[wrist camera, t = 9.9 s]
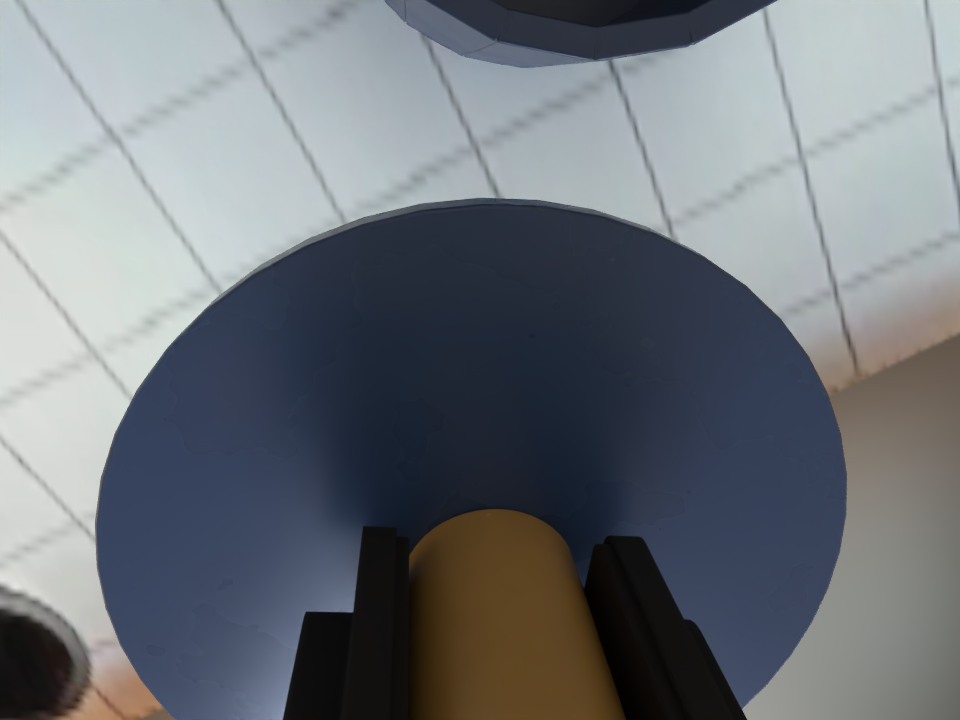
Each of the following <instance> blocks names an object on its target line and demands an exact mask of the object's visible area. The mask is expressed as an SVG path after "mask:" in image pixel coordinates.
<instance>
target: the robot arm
mask: <svg viewBox="0 0 960 720" xmlns="http://www.w3.org/2000/svg"><path fill="white" fill-rule="evenodd" d="M396 533H397V527H375V526H363V530H362V538H361V547H360V556H359V565H358V574H357V583H356V591H355V600H354V609H353V612H312V611H306V613H305V615H304V619H303V623H302V628H301V632H300V637H299V642H298V647H297V652H296V657H295V662H294V667H293V672H292V676H291V681H290V686H289V691H288V696H287V701H286V706H285V711H284V715H283V720H408V645H409V537H396ZM584 591H585V594H586V597H587V600H588V603H589V606H590V609H591V612H592V615H593V618H594V621H595V624H596V627H597V630H598V633H599V636H600V639H601V642H602V645H603V648H604V651H605V654H606V657H607V660H608V663H609V666H610V669H611V672H612V675H613V678H614V681H615V684H616V687H617V690H618V693H619V696H620V699H621V702H622V705H623V708H624V711H625V714H626V717H627V720H747V719H746V717H745V715H744V713H743V711H742V709H741V707H740V705H739V703H738V701H737V699H736V697H735V695H734V694H733V692H732V690H731V688H730V686H729V684H728V682H727V680H726V678H725V676H724V674H723V672H722V670H721V669H720V667H719V665H718V663H717V661H716V659H715V657H714V655H713V653H712V651H711V649H710V647H709V645H708V644H707V642H706V640H705V638H704V636H703V634H702V632H701V630H700V629H699V627H698V626H697V625H696V623H694V622H693V621H692V620H688V619H684V618H683V616H682V614H681V612H680V610H679V608H678V606H677V604H676V602H675V600H674V598H673V596H672V594H671V592H670V590H669V588H668V586H667V584H666V582H665V580H664V578H663V576H662V574H661V572H660V570H659V568H658V566H657V564H656V562H655V560H654V558H653V556H652V554H651V552H650V550H649V548H648V546H647V544H646V542H645V541H644V539H643V538H642V537H639V536H613V535H609V536H607V537H606V538H605V540H604V543H603V544H595V546H594V548H593V551H592V556H591V560H590V565H589V569H588V574H587V578H586V583H585V587H584Z"/></svg>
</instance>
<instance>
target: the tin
mask: <svg viewBox="0 0 960 720" xmlns="http://www.w3.org/2000/svg"><path fill="white" fill-rule="evenodd" d="M384 1H385V2H386V4H387V5H389V6H390V7H391V8H392V9H393V10H394V11H395V12H396V13H397V15H398V16H399V17H400V18H401V19H402V20H403V21H404V22H407V24H408V25H409V26H411V27H412V28H414V29H416V30H418V31H419V32H421V33H422V34H424V35H425V36H427V37H428V38H430V39H431V40H433V41H435V42H437V43H439V44H441V45H443V46H445V47H447V48H449V49H451V50H452V51H454V52H456V53H458V54H459V55H461V56H463V55H464V57H467V58H472V59H477V60H482V61H487V62H492V63H497V64H502V65H509V66H515V67H520V68H531V67H542V66H553V65H564V64H574V63H585V62H596V61H603V60H609V59H615V58H621V57H627V56H634V55H640V54H646V53H652V52H659V51H665V50H671V49H677V48H683V47H688V46H690V45H694V44H696V43H698V42H700V41H702V40H704V39H705V38H707V37H709V36H711V35H713V34H715V33H717V32H719V31H721V30H722V29H724V28H726V27H728V26H730V25H732V24H734V23H736V22H738V21H740V20H741V19H743V18H745V17H747V16H749V15H751V14H753V13H755V12H757V11H758V10H760V9H762V8H764V7H766V6H768V5H770V4H772V3H774V2H775V1H777V0H384Z"/></svg>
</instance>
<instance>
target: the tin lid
mask: <svg viewBox="0 0 960 720" xmlns="http://www.w3.org/2000/svg"><path fill="white" fill-rule="evenodd" d="M846 490H847V472H846V466H845V459H844V452H843V445H842V438H841V433H840V430H839V427H838V424H837V421H836V418H835V414H834V411H833V408H832V405H831V402H830V399H829V396H828V393H827V391H826V389H825V387H824V385H823V383H822V381H821V379H820V377H819V376H818V374H817V372H816V370H815V368H814V366H813V364H812V362H811V360H810V358H809V356H808V355H807V353H806V352H805V351H804V349H803V348H802V347H801V345H800V344H799V343H798V341H797V340H796V339H795V337H794V336H793V335H792V333H791V332H790V331H789V329H788V328H787V327H786V325H785V324H784V323H783V321H782V320H781V319H780V318H779V317H778V316H777V315H776V314H775V313H774V312H773V311H772V310H771V309H770V308H769V307H768V306H767V305H766V304H765V303H764V302H763V301H762V300H760V299H759V298H758V297H757V296H756V295H755V294H754V293H753V292H752V291H751V290H750V289H749V288H748V287H747V286H746V285H744V284H743V283H741V282H740V281H739V280H737V279H736V278H734V277H733V276H731V275H730V274H729V273H727V272H726V271H724V270H723V269H721V268H720V267H718V266H717V265H716V264H714V263H713V262H711V261H710V260H708V259H707V258H705V257H704V256H702V255H701V254H699V253H697V252H696V251H694V250H692V249H691V248H689V247H687V246H685V245H682V244H680V243H678V242H676V241H674V240H672V239H670V238H668V237H666V236H664V235H662V234H660V233H658V232H656V231H654V230H652V229H650V228H648V227H646V226H643V225H640V224H637V223H634V222H631V221H627V220H624V219H621V218H618V217H615V216H612V215H609V214H606V213H603V212H600V211H596V210H593V209H587V208H581V207H576V206H570V205H564V204H558V203H553V202H547V201H541V200H524V199H497V198H475V199H464V200H454V201H444V202H434V203H423V204H418V205H414V206H410V207H405V208H401V209H397V210H393V211H388V212H384V213H380V214H376V215H371V216H367V217H364V218H361V219H358V220H356V221H353V222H350V223H348V224H345V225H343V226H340V227H337V228H335V229H332V230H329V231H327V232H324V233H322V234H319V235H316V236H314V237H311V238H309V239H307V240H305V241H303V242H302V243H300V244H298V245H296V246H294V247H292V248H291V249H289V250H287V251H285V252H283V253H282V254H280V255H278V256H276V257H274V258H272V259H271V260H269V261H267V262H265V263H263V264H261V265H260V266H258V267H257V268H256V269H254V270H253V271H252V272H250V273H249V274H248V275H246V276H245V277H244V278H242V279H241V280H240V281H238V282H237V283H236V284H234V285H233V286H232V287H230V288H229V289H228V290H226V291H225V292H224V293H222V294H221V295H220V296H218V297H217V298H216V299H215V300H214V301H213V302H212V303H211V304H210V305H209V306H208V307H207V308H206V309H205V310H204V311H203V312H202V313H201V314H200V315H199V316H198V317H197V318H196V319H195V320H194V321H193V322H192V323H191V324H190V325H189V326H188V327H187V328H186V329H185V330H184V331H183V332H182V333H181V334H180V335H179V336H178V337H177V338H176V339H175V340H174V341H173V342H172V343H171V345H170V346H169V347H168V348H167V349H166V351H165V352H164V353H163V355H162V356H161V357H160V359H159V360H158V362H157V363H156V364H155V366H154V367H153V368H152V370H151V371H150V373H149V374H148V375H147V377H146V378H145V379H144V381H143V382H142V384H141V385H140V386H139V388H138V389H137V391H136V393H135V395H134V397H133V399H132V401H131V403H130V405H129V407H128V408H127V410H126V412H125V414H124V416H123V418H122V420H121V422H120V424H119V426H118V428H117V430H116V432H115V434H114V438H113V441H112V444H111V447H110V450H109V454H108V457H107V460H106V463H105V467H104V470H103V473H102V476H101V481H100V488H99V496H98V504H97V511H96V519H95V536H96V560H97V570H98V575H99V580H100V584H101V589H102V594H103V598H104V603H105V608H106V610H107V613H108V615H109V618H110V620H111V623H112V625H113V628H114V630H115V633H116V635H117V638H118V640H119V643H120V645H121V647H122V649H123V650H124V652H125V654H126V656H127V657H128V659H129V661H130V662H131V664H132V666H133V667H134V669H135V671H136V672H137V674H138V676H139V678H140V679H141V681H142V682H143V683H144V684H145V685H146V687H147V688H148V689H149V690H150V692H151V693H152V694H153V695H154V697H155V698H156V699H157V700H158V702H159V703H160V704H161V705H162V707H163V708H164V709H165V710H166V711H167V712H168V713H169V714H170V715H171V716H172V717H173V718H174V719H175V720H283V715H284V711H285V706H286V701H287V696H288V691H289V686H290V681H291V676H292V672H293V667H294V662H295V657H296V652H297V647H298V642H299V637H300V632H301V628H302V623H303V619H304V615H305V613H306V611H312V612H353V609H354V600H355V591H356V583H357V574H358V565H359V556H360V547H361V538H362V530H363V526H375V527H397V533H396V537H409V645H408V720H627V717H626V714H625V711H624V708H623V705H622V702H621V699H620V696H619V693H618V690H617V687H616V684H615V681H614V678H613V675H612V672H611V669H610V666H609V663H608V660H607V657H606V654H605V651H604V648H603V645H602V642H601V639H600V636H599V633H598V630H597V627H596V624H595V621H594V618H593V615H592V612H591V609H590V606H589V603H588V600H587V597H586V594H585V591H584V587H585V583H586V578H587V574H588V569H589V565H590V560H591V556H592V551H593V548H594V546H595V544H603V543H604V540H605V538H606V537H607V536H609V535H613V536H639V537H642V538H643V539H644V541H645V542H646V544H647V546H648V548H649V550H650V552H651V554H652V556H653V558H654V560H655V562H656V564H657V566H658V568H659V570H660V572H661V574H662V576H663V578H664V580H665V582H666V584H667V586H668V588H669V590H670V592H671V594H672V596H673V598H674V600H675V602H676V604H677V606H678V608H679V610H680V612H681V614H682V616H683V618H684V619H688V620H692V621H693V622H694V623H696V625H697V626H698V627H699V629H700V630H701V632H702V634H703V636H704V638H705V640H706V642H707V644H708V645H709V647H710V649H711V651H712V653H713V655H714V657H715V659H716V661H717V663H718V665H719V667H720V669H721V670H722V672H723V674H724V676H725V678H726V680H727V682H728V684H729V686H730V688H731V690H732V692H733V694H734V695H735V697H736V699H737V701H738V703H739V705H740V707H741V709H743V708H744V707H745V706H746V705H747V704H748V703H749V702H750V701H751V700H752V699H753V698H754V697H755V696H756V695H757V694H758V693H759V692H760V691H761V690H762V689H763V688H764V687H765V686H766V685H767V684H768V683H769V682H770V680H771V679H772V678H773V677H774V675H775V674H776V673H777V672H778V670H779V669H780V668H781V667H782V666H783V664H784V663H785V662H786V661H787V659H788V658H789V657H790V656H791V654H792V653H793V651H794V650H795V648H796V647H797V645H798V643H799V642H800V640H801V639H802V637H803V636H804V634H805V632H806V631H807V629H808V627H809V626H810V625H811V623H812V621H813V619H814V617H815V615H816V613H817V611H818V608H819V606H820V604H821V602H822V600H823V598H824V595H825V594H826V591H827V589H828V587H829V584H830V581H831V578H832V574H833V571H834V568H835V565H836V562H837V559H838V555H839V553H840V547H841V542H842V536H843V530H844V524H845V518H846V495H847V491H846Z"/></svg>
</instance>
